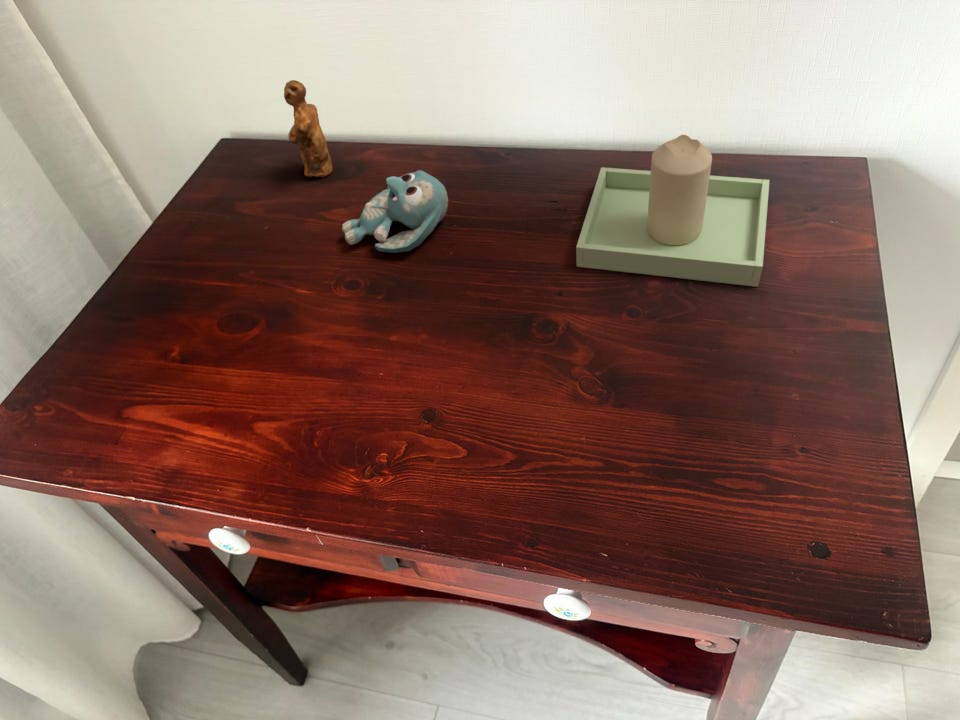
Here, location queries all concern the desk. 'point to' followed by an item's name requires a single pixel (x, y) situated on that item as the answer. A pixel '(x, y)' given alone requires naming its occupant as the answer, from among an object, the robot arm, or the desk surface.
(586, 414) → the desk surface
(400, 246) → the stuffed animal
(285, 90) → the figurine
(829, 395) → the desk surface
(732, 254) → the tray
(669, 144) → the candle
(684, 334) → the desk surface
